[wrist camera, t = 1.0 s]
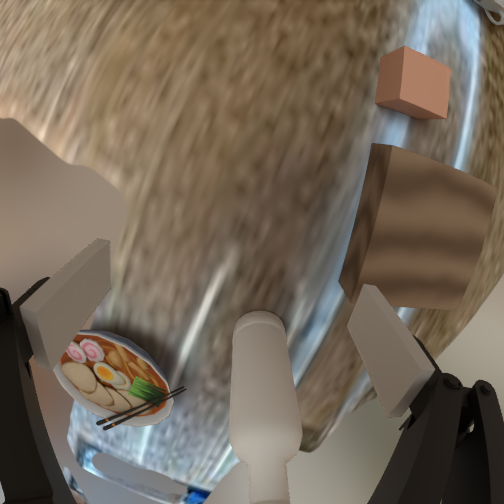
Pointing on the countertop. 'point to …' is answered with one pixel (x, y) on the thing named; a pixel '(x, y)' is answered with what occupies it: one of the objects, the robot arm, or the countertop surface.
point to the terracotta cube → (413, 84)
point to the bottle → (263, 406)
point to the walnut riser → (416, 230)
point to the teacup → (493, 9)
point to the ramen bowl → (115, 379)
